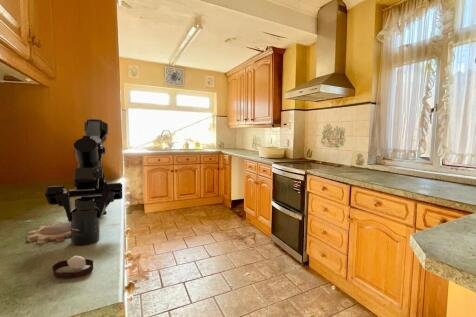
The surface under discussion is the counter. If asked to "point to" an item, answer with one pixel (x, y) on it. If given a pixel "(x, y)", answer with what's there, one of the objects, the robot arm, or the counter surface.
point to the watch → (75, 263)
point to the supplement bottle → (85, 222)
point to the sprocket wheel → (50, 232)
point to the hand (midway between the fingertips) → (84, 219)
